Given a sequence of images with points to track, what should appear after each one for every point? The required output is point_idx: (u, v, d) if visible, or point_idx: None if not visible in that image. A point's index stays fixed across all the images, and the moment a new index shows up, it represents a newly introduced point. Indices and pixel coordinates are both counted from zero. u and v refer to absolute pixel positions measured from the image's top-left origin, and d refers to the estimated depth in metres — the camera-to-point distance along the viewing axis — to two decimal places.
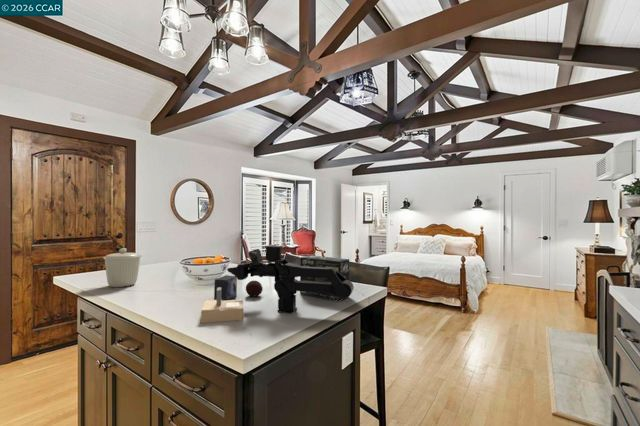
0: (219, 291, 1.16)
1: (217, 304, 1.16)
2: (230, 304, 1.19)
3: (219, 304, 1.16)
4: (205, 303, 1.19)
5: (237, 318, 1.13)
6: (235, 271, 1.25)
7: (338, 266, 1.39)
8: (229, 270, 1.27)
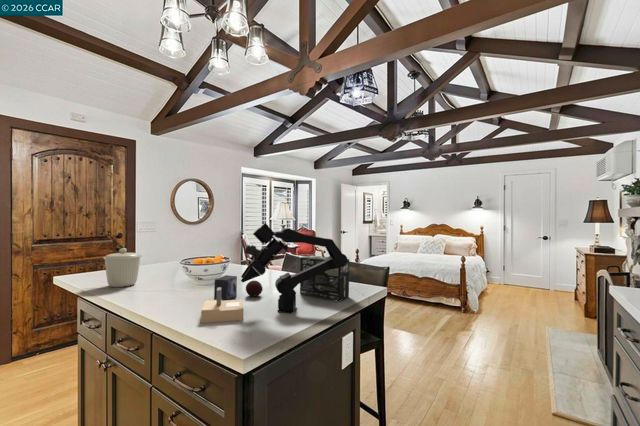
0: (219, 291, 1.16)
1: (217, 304, 1.16)
2: (230, 304, 1.19)
3: (219, 304, 1.16)
4: (205, 303, 1.19)
5: (237, 318, 1.13)
6: (251, 274, 1.17)
7: None
8: (244, 279, 1.16)
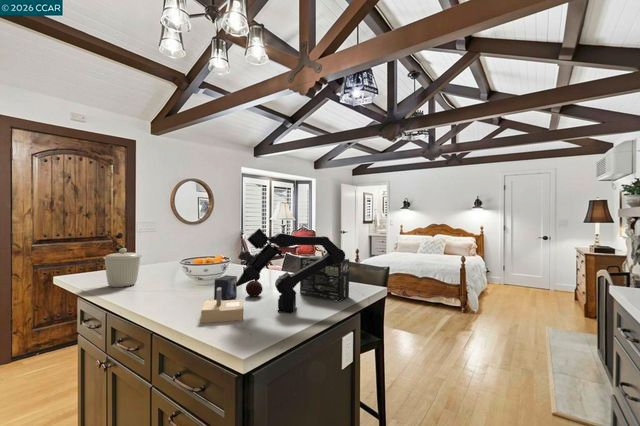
0: (219, 291, 1.16)
1: (217, 304, 1.16)
2: (230, 304, 1.19)
3: (219, 304, 1.16)
4: (205, 303, 1.19)
5: (237, 318, 1.13)
6: (245, 278, 1.20)
7: (338, 266, 1.40)
8: (238, 284, 1.20)
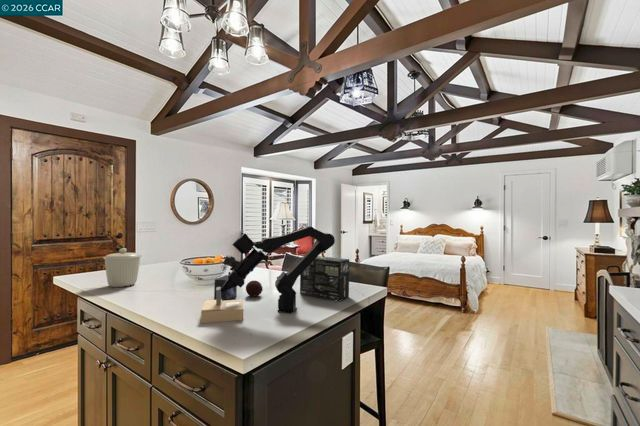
0: (218, 290, 1.16)
1: (217, 304, 1.16)
2: (230, 304, 1.19)
3: (219, 303, 1.16)
4: (205, 303, 1.19)
5: (237, 318, 1.13)
6: (230, 284, 1.18)
7: (338, 266, 1.40)
8: (223, 289, 1.18)
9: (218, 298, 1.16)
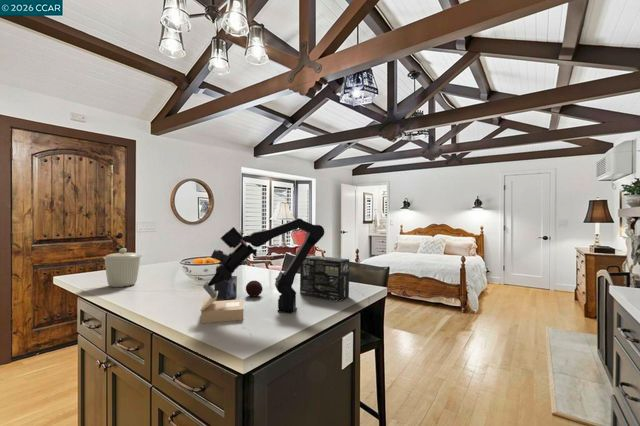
0: (205, 285, 1.15)
1: (212, 296, 1.15)
2: (230, 304, 1.19)
3: (214, 295, 1.15)
4: (204, 302, 1.19)
5: (237, 318, 1.13)
6: (217, 278, 1.17)
7: (338, 266, 1.39)
8: (211, 283, 1.17)
9: (210, 291, 1.15)
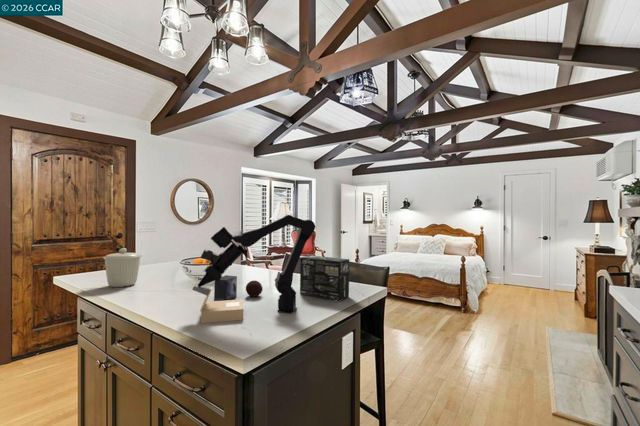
0: (194, 287, 1.14)
1: (206, 294, 1.15)
2: (230, 304, 1.19)
3: (207, 292, 1.15)
4: None
5: (237, 318, 1.13)
6: (207, 278, 1.16)
7: (338, 266, 1.40)
8: (201, 284, 1.16)
9: (201, 291, 1.14)
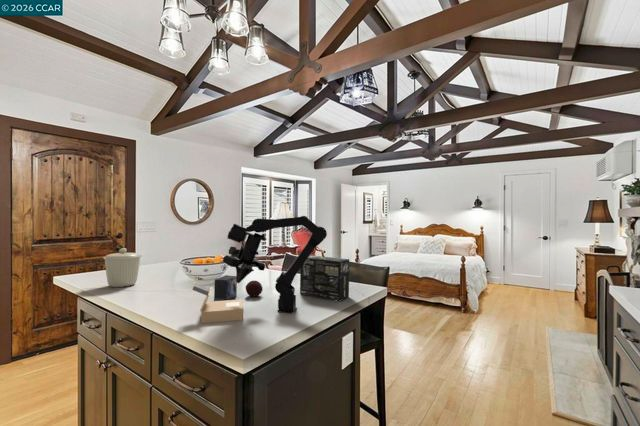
0: (194, 287, 1.14)
1: (206, 294, 1.15)
2: (230, 304, 1.19)
3: (207, 292, 1.15)
4: None
5: (237, 318, 1.13)
6: (239, 272, 1.23)
7: (338, 266, 1.40)
8: (237, 279, 1.24)
9: (201, 291, 1.14)
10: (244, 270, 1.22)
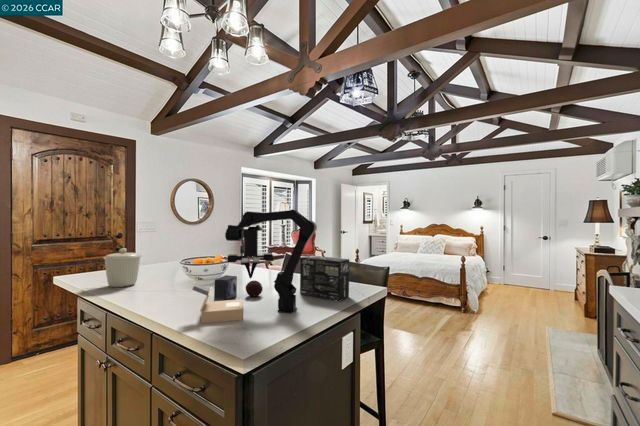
0: (194, 287, 1.14)
1: (206, 294, 1.15)
2: (230, 304, 1.19)
3: (207, 292, 1.15)
4: None
5: (237, 318, 1.13)
6: None
7: (338, 266, 1.40)
8: None
9: (201, 291, 1.14)
10: (247, 264, 1.25)
